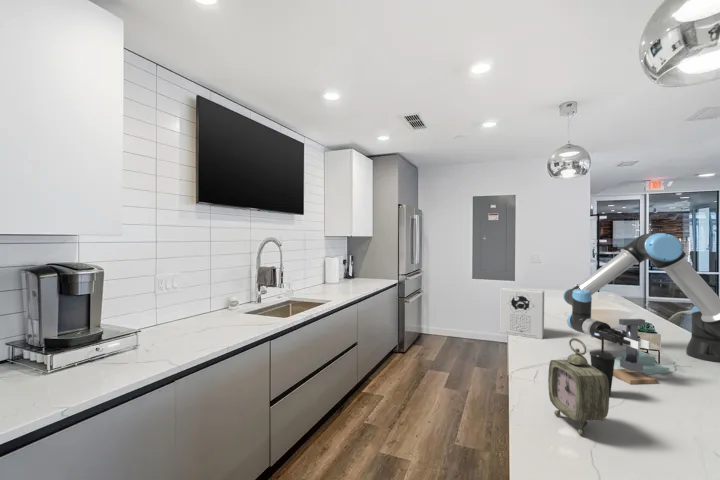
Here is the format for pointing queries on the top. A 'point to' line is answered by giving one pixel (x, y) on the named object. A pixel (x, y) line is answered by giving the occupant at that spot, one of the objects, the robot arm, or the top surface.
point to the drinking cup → (603, 362)
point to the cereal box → (522, 312)
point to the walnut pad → (634, 377)
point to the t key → (631, 353)
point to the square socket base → (646, 363)
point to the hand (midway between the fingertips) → (644, 345)
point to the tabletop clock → (578, 388)
